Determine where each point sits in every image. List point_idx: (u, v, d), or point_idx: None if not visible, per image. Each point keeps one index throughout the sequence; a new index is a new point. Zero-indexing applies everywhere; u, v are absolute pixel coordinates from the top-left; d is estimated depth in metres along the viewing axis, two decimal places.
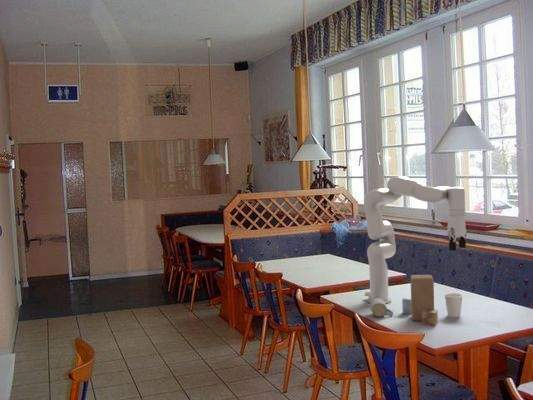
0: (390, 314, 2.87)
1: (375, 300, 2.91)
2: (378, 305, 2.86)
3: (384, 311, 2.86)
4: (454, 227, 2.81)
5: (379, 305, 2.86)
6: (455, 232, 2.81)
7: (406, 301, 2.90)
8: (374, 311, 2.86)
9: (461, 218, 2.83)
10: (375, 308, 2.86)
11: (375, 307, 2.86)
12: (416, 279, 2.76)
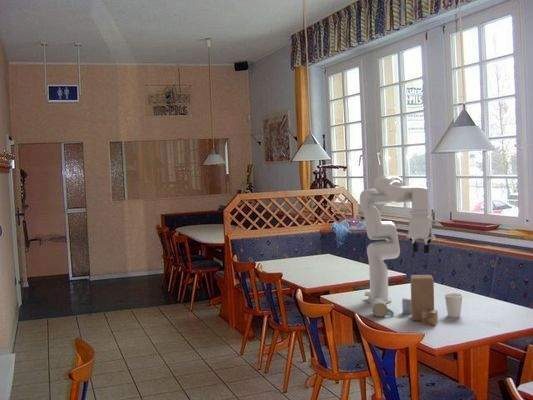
0: (391, 314, 2.87)
1: (376, 300, 2.91)
2: (379, 305, 2.86)
3: (385, 311, 2.86)
4: (431, 227, 2.76)
5: (380, 305, 2.86)
6: None
7: (406, 301, 2.90)
8: (375, 311, 2.86)
9: None
10: (376, 308, 2.86)
11: (376, 307, 2.86)
12: (416, 279, 2.76)
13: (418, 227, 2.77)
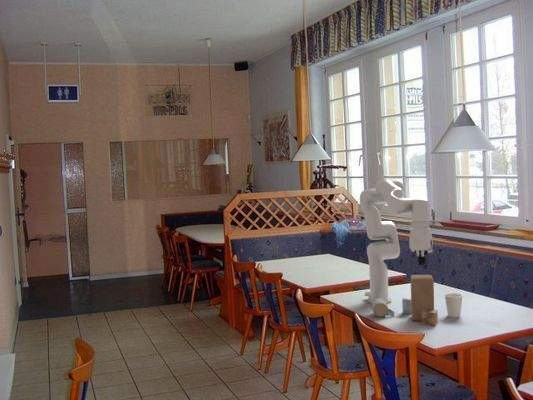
0: (391, 314, 2.87)
1: (376, 300, 2.91)
2: (379, 305, 2.86)
3: (385, 311, 2.86)
4: (432, 239, 2.76)
5: (380, 305, 2.86)
6: (432, 244, 2.77)
7: (406, 301, 2.90)
8: (375, 311, 2.86)
9: None
10: (376, 308, 2.86)
11: (376, 307, 2.86)
12: (416, 279, 2.76)
13: (419, 239, 2.77)
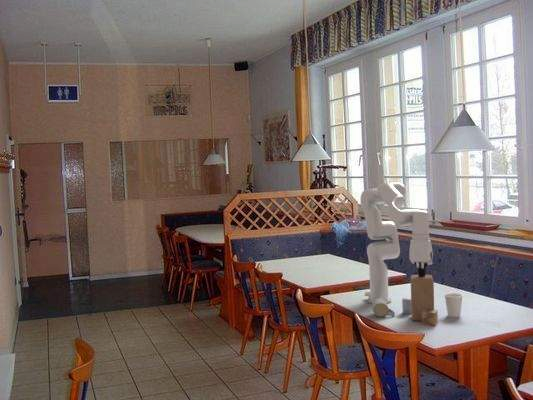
0: (392, 314, 2.87)
1: (377, 300, 2.91)
2: (380, 305, 2.86)
3: (386, 311, 2.86)
4: None
5: (381, 305, 2.86)
6: (432, 256, 2.77)
7: (406, 301, 2.90)
8: (376, 311, 2.86)
9: None
10: (377, 308, 2.86)
11: (377, 307, 2.86)
12: (416, 279, 2.76)
13: (419, 251, 2.77)
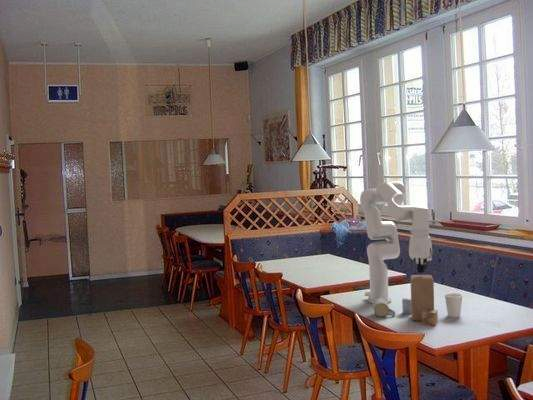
0: (392, 314, 2.87)
1: (377, 300, 2.91)
2: (380, 305, 2.86)
3: (386, 311, 2.86)
4: (431, 247, 2.77)
5: (381, 305, 2.86)
6: None
7: (406, 301, 2.90)
8: (376, 311, 2.86)
9: None
10: (377, 308, 2.86)
11: (377, 307, 2.86)
12: (416, 279, 2.76)
13: (418, 247, 2.77)
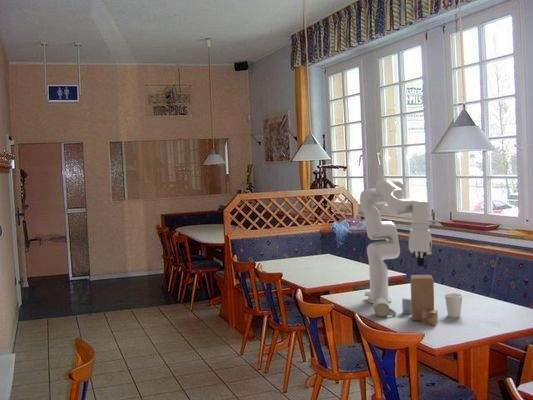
0: (393, 314, 2.87)
1: (378, 300, 2.91)
2: (381, 305, 2.86)
3: (387, 311, 2.86)
4: (431, 241, 2.77)
5: (382, 305, 2.86)
6: (431, 245, 2.77)
7: (406, 301, 2.90)
8: (377, 311, 2.86)
9: None
10: (378, 308, 2.86)
11: (378, 307, 2.86)
12: (416, 279, 2.76)
13: (418, 240, 2.77)
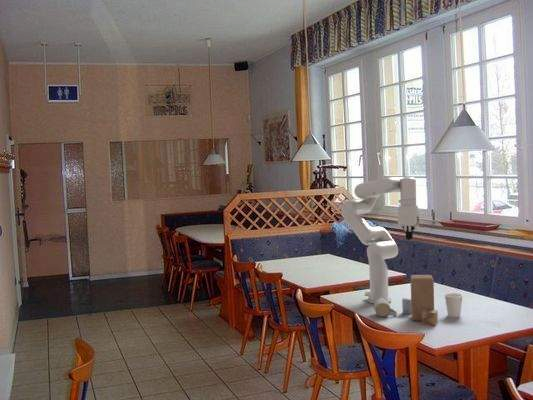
0: (394, 314, 2.87)
1: (379, 300, 2.91)
2: (382, 305, 2.86)
3: (388, 311, 2.86)
4: (418, 215, 2.95)
5: (383, 305, 2.86)
6: None
7: (406, 301, 2.90)
8: (378, 311, 2.86)
9: None
10: (379, 308, 2.86)
11: (379, 307, 2.86)
12: (416, 279, 2.76)
13: (406, 215, 2.95)
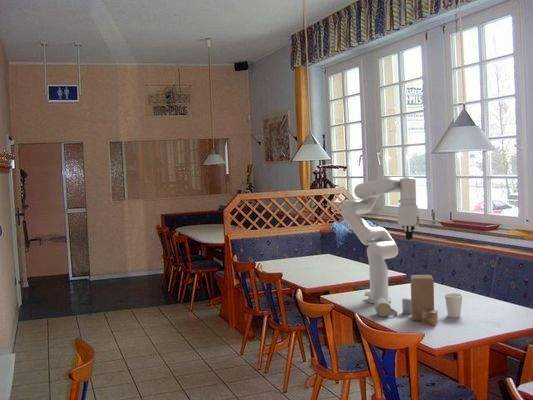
0: (394, 314, 2.87)
1: (379, 300, 2.91)
2: (382, 305, 2.86)
3: (388, 311, 2.86)
4: (418, 215, 2.95)
5: (383, 305, 2.86)
6: None
7: (406, 301, 2.90)
8: (378, 311, 2.86)
9: None
10: (379, 308, 2.86)
11: (379, 307, 2.86)
12: (416, 279, 2.76)
13: (406, 215, 2.95)
